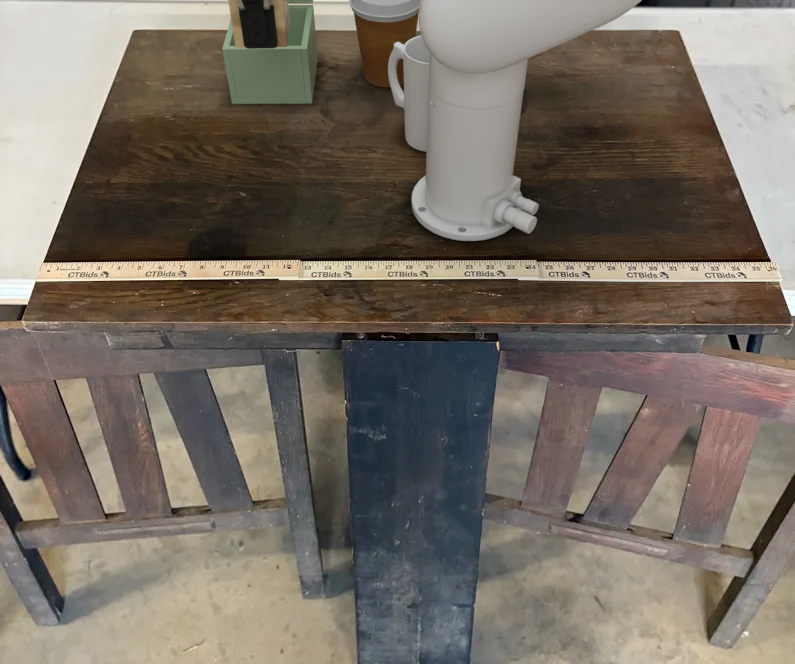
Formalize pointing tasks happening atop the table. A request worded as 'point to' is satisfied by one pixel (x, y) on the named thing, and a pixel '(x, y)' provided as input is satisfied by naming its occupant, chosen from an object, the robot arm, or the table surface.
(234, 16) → the block
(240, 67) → the chest
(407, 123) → the mug
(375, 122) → the table surface
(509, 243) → the table surface
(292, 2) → the lid
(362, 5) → the disposable coffee cup
